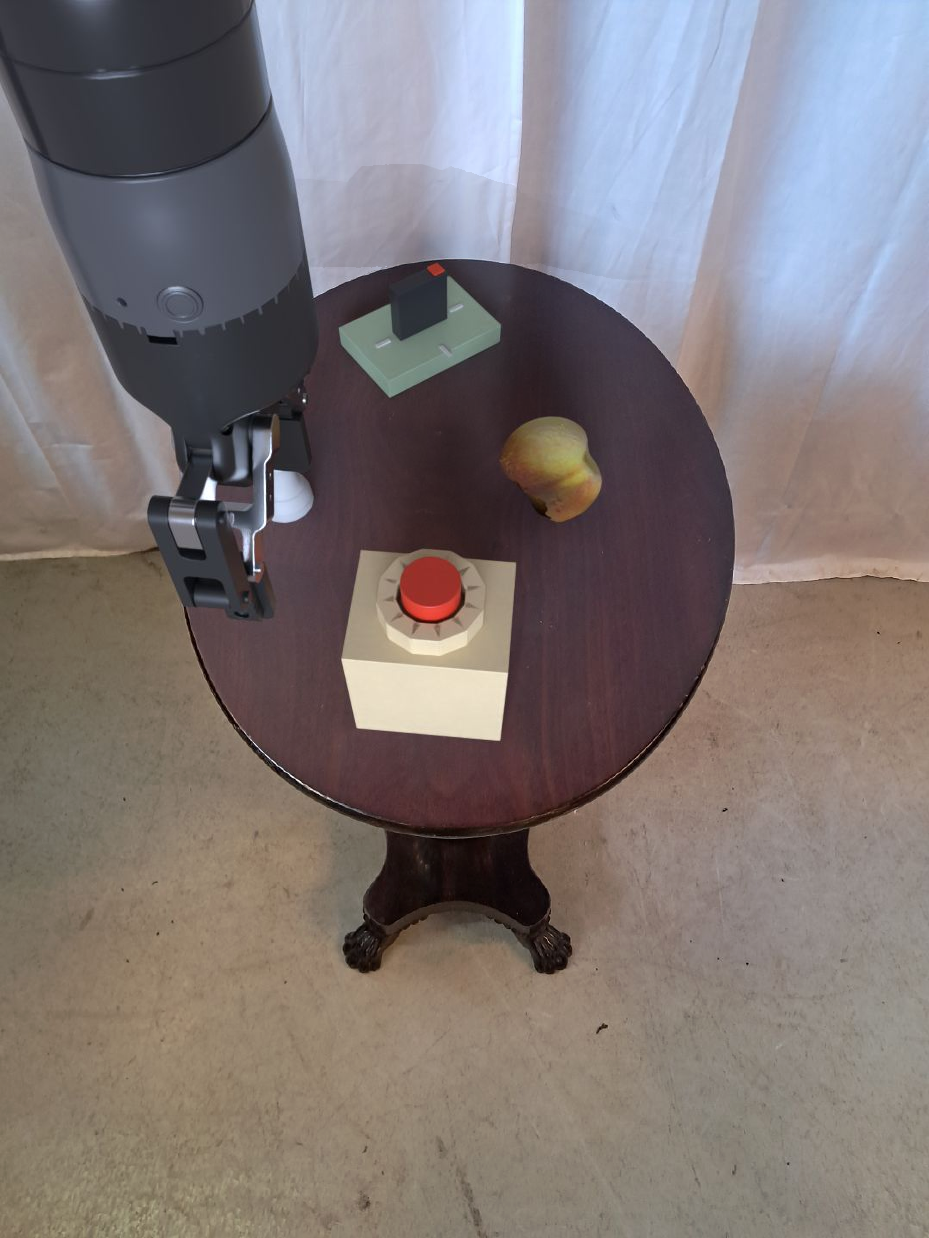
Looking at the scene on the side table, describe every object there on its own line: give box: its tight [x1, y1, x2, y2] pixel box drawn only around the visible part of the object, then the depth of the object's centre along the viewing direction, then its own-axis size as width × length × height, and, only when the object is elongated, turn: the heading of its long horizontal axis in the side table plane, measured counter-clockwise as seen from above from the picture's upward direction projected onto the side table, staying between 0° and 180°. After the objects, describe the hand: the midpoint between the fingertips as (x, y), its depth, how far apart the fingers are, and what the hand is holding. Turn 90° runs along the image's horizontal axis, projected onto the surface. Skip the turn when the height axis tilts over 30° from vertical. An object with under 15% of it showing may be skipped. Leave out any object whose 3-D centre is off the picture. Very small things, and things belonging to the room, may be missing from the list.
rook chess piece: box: [271, 470, 315, 524], centre depth 70 cm, size 4×4×8 cm
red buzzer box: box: [340, 548, 517, 742], centre depth 60 cm, size 10×8×12 cm
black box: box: [388, 262, 448, 341], centre depth 78 cm, size 5×1×5 cm, turn 126°
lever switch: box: [338, 275, 502, 398], centre depth 81 cm, size 12×9×2 cm
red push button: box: [400, 557, 461, 622], centre depth 54 cm, size 4×4×2 cm
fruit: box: [498, 416, 603, 523], centre depth 70 cm, size 8×8×8 cm
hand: (272, 535), depth 44 cm, fingers open, 8 cm apart
